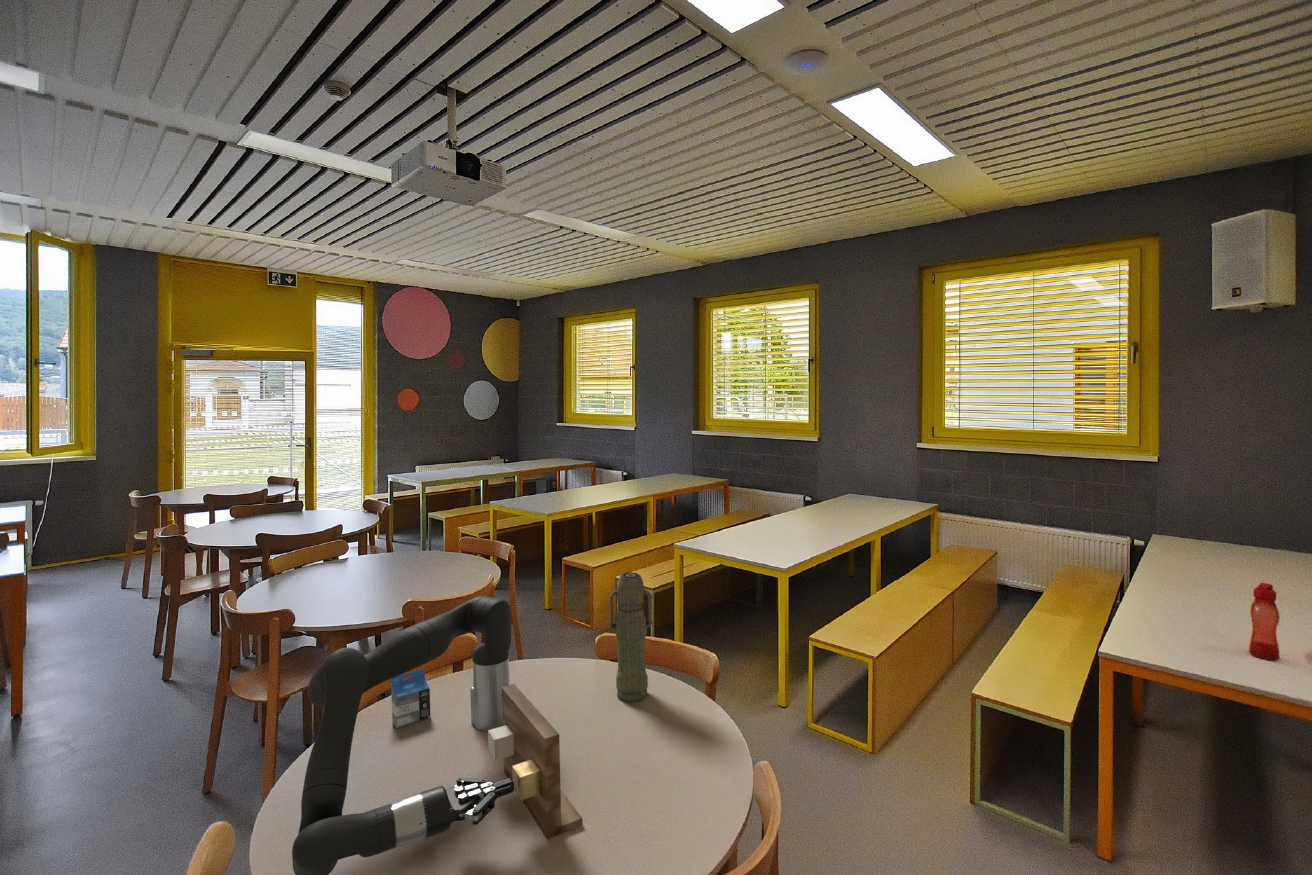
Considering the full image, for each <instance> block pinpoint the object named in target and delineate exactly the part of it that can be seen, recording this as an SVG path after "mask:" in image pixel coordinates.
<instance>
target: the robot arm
mask: <svg viewBox="0 0 1312 875" xmlns="http://www.w3.org/2000/svg"><path fill="white" fill-rule="evenodd" d="M512 625H513V613H512V608H511V605H510V603H509V602H508V601H507V600H505V599H501V598H497V597H492V596H488V595H487V596H486V595H479V596H475V597H473V598H471V599H469V600H467V601H465V602H464V603H462V604H461V605H458V606H456V607H455V608H453V609H451V610H449V611H447V612H443V613H441V614H439V615H437V616H434V617H431V618H429V619H426V620H423V621H420V622H418V623H416V624H413V625H411V626H409V627H405V628H404V629H402V630H400V631H398V632H397V633H395V634H393V635H391V637H389V638H388V639H386V640H385V641H383V642H382V643H381V644H379V645H378V646H376V647H375V648H374V649H372V650H370V651H369V652H367V653H365V654H364V653H362V652H361V651H359V650H358V649H356V648H352V647H342V648H338V649H336V650H334V651H333V652H331V653H330V654H329V655H327V657H326V658H325V659H324V660H323V661H322V663H321V664H320V665H319V666H318V667H317V669H315V671H314V673H312V676H311V678H310V679H309V682H308V685H307V688H306V689H307V698H308V700H309V701H310V703H311V704H312V705H313V706H316V707H318V708H320V709H323V710H322V711H323V712H322V717H321V721H320V723H319V726H318V731H317V733H316V737H315V739H314V743H313V745H312V748H311V752H310V754H309V757H308V761H307V766H306V770H305V776H304V780H303V781H304V782H303V787H302V792H301V793H302V794H301V802H300V810H301V812H300V813H301V816H300V823H299V829H298V834H297V836H296V838H295V839H294V841H293V845H292V849H291V858H292V870H293V873H294V875H330V874H331V873H332V872H333V871H334V869H335V868H336V865H337V863H338V861H339V860H342V859H345V858H350V857H353V856H360V857H362V858H370V857H373V856H376V855H379V854H382V853H385V852H389V851H391V850H394V849H395V848H400V847H403V846H409V845H412V844H414V843H417V842H420V841H422V840H426V839H428V838H431V837H434V836H436V835H439V834H443V833H445V832H447V831H448V830H450V828H451V826H452V824H453V823H455V822H462V821H465V820H467V819H468V820H471V821H472V825H473V826H477V825H479V824H480V823H481V822H482V821H483V820H484V819H485V818H486V816H487V815H488V814H489V813H491V812H492V810H493V809H495V807H496V800H497V799H498V798H502V797H504V796H507V795H510V794H512V793H514V792H515V791H514V782H513V781H512V779H511V778H505V779H502V780H499V781H495V782H491V781H488V782H487V779H486V778H484V777H483V778H482V777H468V776H467V777H464V776H458V777H457V778H456V779H455V781H456V783H455V785H454V786H452V787H449V788H448V789H446V788H445V786H442V785H439V786H437V787H433V788H429V789H427V790H424V791H420V792H418V793H415V794H411V795H408V796H405V797H402V798H401V799H398V800H396V801H393V802H392V803H389V804H385V805H383V806H379V807H376V808H373V809H370V810H368V811H366V812H361V813H360V812H359V813H349V814H343V810H344V804H345V802H346V801H345V799H346V796H347V787H348V781H349V780H348V778H349V767H350V760H351V751H352V744H353V739H354V738H353V737H354V732H355V728H356V721H357V718H358V713H359V708H360V704H361V700H362V696H363V694H364V693H367V692H368V691H370V690H371V689H373V688H375V687H377V686H379V685H380V684H382V683H384V682H387V681H391V679H392V678H395V677H397V676H400V675H403V674H407V673H409V672H410V671H413V670H414V669H415V670H416V669H417V668H419V667H422V666H424V665H427V664H428V663H430V662H432V661H435V660H436V659H438V658H440V657H441V656H442V655H444V654H445V653H446V652H447V650H448V649H449V647H450V645H451V644H452V642H453V641H454V640H455V639H457V638H459V637H460V636H463V635H466V634H469V633H480V634H484V642H482V643H481V644H479V645H478V644H477V645H476V646H475V647H474V648H473V650H472V653H471V657H472V658H471V659H472V660H471V661H472V687H470V716H471V718H470V719H471V720H470V721H471V724H473V725H474V728H475V729H477V730H480V731H483V732H488V730H491V729H495V728H498V727H502V689H501V687H503V686H507V685H511V683H510V656H509V655H510V654H509V653H510V648H511V644H512V632H513V630H512V629H513V628H512V627H513V626H512Z"/></svg>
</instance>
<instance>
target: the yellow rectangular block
mask: <svg viewBox="0 0 1312 875" xmlns="http://www.w3.org/2000/svg"><path fill="white" fill-rule="evenodd" d="M512 777H513V782H514V791H513V792H515V794H516V796H517V798H518V799H519V800H520V801H522V800H524V799H527V798H530V797H532V796H535V795H538V794H541V793H542V787H541V769H540V768H539V766H538V765H537V764H536V762H535V761H534V760H533V759H532V760H529V761H526V762H523V763H520V764H516V765H513V766H512Z"/></svg>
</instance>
